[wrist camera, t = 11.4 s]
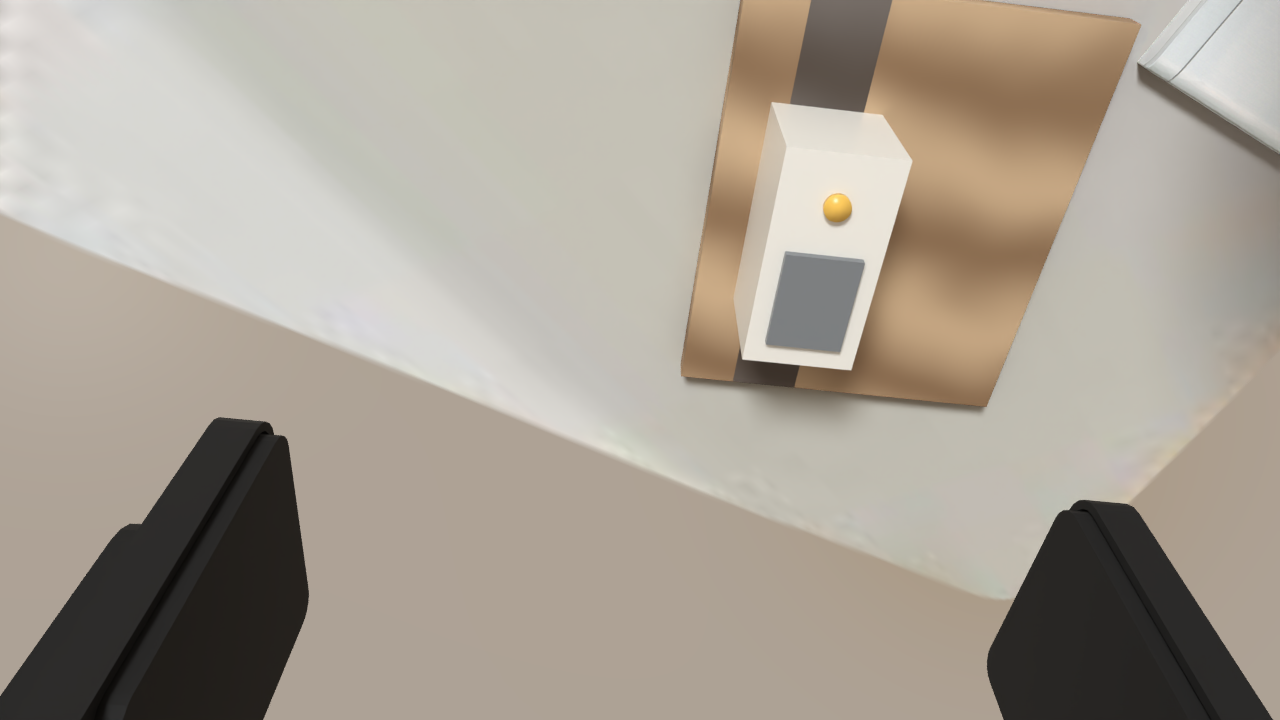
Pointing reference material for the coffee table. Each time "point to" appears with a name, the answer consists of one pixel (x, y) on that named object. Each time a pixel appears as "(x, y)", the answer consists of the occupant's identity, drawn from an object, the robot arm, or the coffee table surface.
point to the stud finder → (817, 234)
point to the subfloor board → (916, 174)
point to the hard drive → (1225, 62)
